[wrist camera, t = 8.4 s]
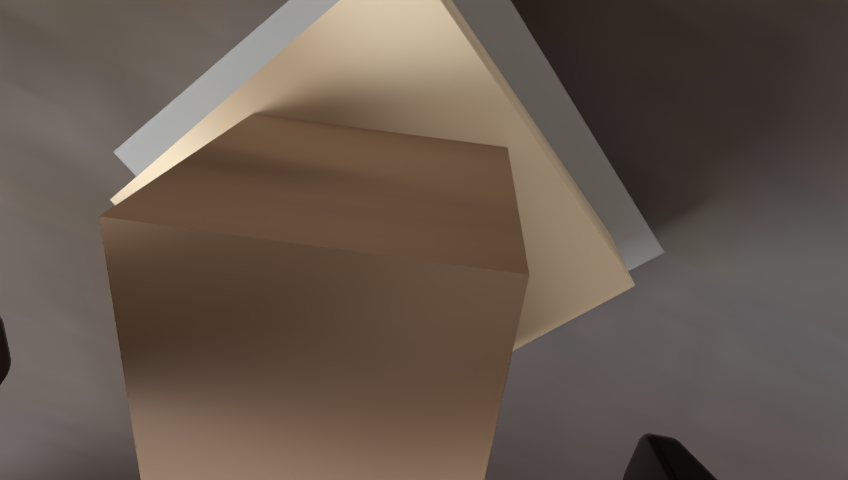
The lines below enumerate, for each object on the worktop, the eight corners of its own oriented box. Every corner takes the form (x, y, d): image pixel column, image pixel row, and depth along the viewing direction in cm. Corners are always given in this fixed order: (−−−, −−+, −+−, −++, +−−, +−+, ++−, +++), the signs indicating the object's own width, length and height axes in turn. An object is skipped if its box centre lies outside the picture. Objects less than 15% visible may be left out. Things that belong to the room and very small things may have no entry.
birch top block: (366, 374, 17) (349, 437, 15) (167, 163, 14) (109, 199, 12) (610, 235, 14) (634, 285, 12) (417, -52, 12) (402, -55, 10)
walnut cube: (469, 355, 13) (466, 558, 9) (257, 325, 13) (145, 510, 9) (507, 147, 11) (528, 275, 6) (251, 113, 11) (99, 216, 7)
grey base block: (371, 361, 20) (358, 411, 18) (162, 126, 17) (113, 151, 14) (639, 213, 17) (664, 252, 14) (441, -110, 13) (434, -125, 11)
